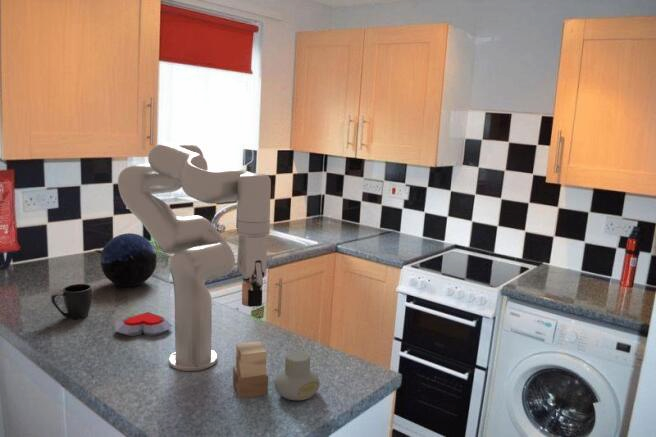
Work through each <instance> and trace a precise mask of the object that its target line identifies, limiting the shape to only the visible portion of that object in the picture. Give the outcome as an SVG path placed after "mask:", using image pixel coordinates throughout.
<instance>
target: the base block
mask: <svg viewBox="0 0 656 437" xmlns="http://www.w3.org/2000/svg"><path fill="white" fill-rule="evenodd" d="M232 386H233V388H234V390H235V392H236V395H237V397H238V399H239V398H240V399H245V398H253V397H259V396H265V395H268V394H269V392H268V391H269V375H268V373H267V372H266V375H260V376H253V377H246V378H241V376H240V374H239V372H238V370H237V368H236V365H235V366H234V365H233V367H232Z"/></svg>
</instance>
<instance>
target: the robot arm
mask: <svg viewBox="0 0 656 437" xmlns="http://www.w3.org/2000/svg"><path fill="white" fill-rule="evenodd" d="M147 161H148V163H141V164H133V165H130V166H127V167H125V168H124V169H122V171H120V173H119V176H118V178H117V187H118V188H117V189H118V192H119V195H120V198H121V200H122V202H123V204H124V205H125V207H126V208H127V209H128V210H129V211H130V213H132V214H133V216H135V217H136V218H137V219H138V220H139V222H141V224H142V225H143V227H144V228H145V229H146V231H147V232H148V233H149V235H150V236H151V237H152V239H153V240H154V242H155V243H156V245H157V246H158V247H159V248H160V250H161V251H163V253H165V254H168V255H173V256H172V257H171V258H170V263H169V269H170V274H171V278H172V283H173V285H172V286H173V291H174V292H173V295H174V345H175V346H174V349H175V350H174V352H173V353H171V354H170V356H169V358H168V363H169V365H170V366H171V367H172V368H174V369H175V370H178V371H183V372H193V371H194V372H195V371H196V372H197V371H202V370H205V369H209V368H210V367H212V366H214V365H215V364H216V363H217V361H218V354H217V352H216V351H215V350H213V349H212V343H213V342H212V337H213V336H212V333H213V332H212V330H213V329H212V327H213V326H212V324H213V323H212V320H213V319H212V317H213V314H212V306H213V303H212V295H211V292H210V291H209V289H208V288H207V286H206V285H205V282H207V281H211V280H213V279H218V278H220V277H224V276H227V275H228V274H230V273H231V272H233V270H234V268H235V265H236V267H237V270H238V271H239V273H240V274H241V276H242V282H243V281H246V280H249V286H250V290H248V306H247V307H250V308H251V307H261V306H263V290H262V283H263V282H264V278H265V277H266V276H267V275H266V274H267V236H269V235H270V233H271V232H270V230H271V229H270V228H271V226H270V225H271V224H270V223H271V193H272V191H271V186H272V185H271V184H272V182H271V177H270V176H269V175H268V174H265V173H264V174H263V173H259V172H258V173H257V172H256V173H255V172H251V171H249V170H246V169H238V168H237V169H221V170H220V169H219V170H208V168H209V167H208V162H207V160H206V158H205V157H204V154H203V152H202V150H201V148H199V146H198V145H196V144H194V143H191V142H164V143H160V144H157V145H155V146H153V148H151V150H150V151H149V152H148V157H147ZM180 189H182V190H183V192H184V194H185V195H187V196H188V197H190V198H192V199H195V200H197V201H199V202H201V203H204V204H208V205H209V204H210V205H212V204H214V205H215V204H221V203H229V202H237V203H236V206H237V207H236V208H237V209H236V234H237V235H238V244H237V261H236V259H235V255H234V252H233V250H232V248H231V246H230V245H229V244H228V242H227V241H226V239H225V238H224V237H223V236H222V235H221V234H220V232H219V231H218V230H217V228H216V227H215V226H214V225H213V223H212V221H210V220H209V219H207V218H206V217H204V216H201V215H188V216H178V215H177V214H176V213H175V212H174V211H173V210H172V208H171V207H170V205H168V204H167V202H165V201H163V200H162V199H160V198H158V197H156V196H154V195H157V194H167V193H169V194H170V193H174V192H176V191H178V190H180ZM236 263H237V264H236ZM253 280H256V281H254V283H253ZM263 284H264V283H263Z"/></svg>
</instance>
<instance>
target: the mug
mask: <svg viewBox="0 0 656 437" xmlns="http://www.w3.org/2000/svg"><path fill="white" fill-rule="evenodd" d="M92 287H93V286H91V285H90V284H86V283H76V284H70V285H67V286H64V287H63V289H62V291H63V292H62V293H55V294H52V295H51V298H50V299H51V300H50V301H51V303H52V305H53V306H54V307H55V308H56V309H57V311H58V312H59V313H60V314H61V315H62V316H63V317H64V318H65V319H66V318H67V319H71V320H83V319H85V318H87V317H88V316H89V314H90V309H91V305H92V301H93V300H92V297H93V296H92V295H93V290H92ZM57 296H58V297H59V296H61V297H62V296H63V303H64V307H65V310H66V312H64V311H63V310H62V309H61V308H60V307H59V306H58V305H57V302H56V300H55V298H56V297H57Z"/></svg>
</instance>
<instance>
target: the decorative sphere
mask: <svg viewBox="0 0 656 437" xmlns="http://www.w3.org/2000/svg"><path fill="white" fill-rule="evenodd" d="M99 262H100V267H101V271H102V273H103V275H104V276H105V277H106V279H108V280H109V281H110V282H112V283H113V284H115V285H118V286H119V287H120V286H121V287H124V288H125V287H135V286H139V285H141V284H143V283H145V282H146V281H148V280H149V279H150V278H151V276H153V273H154V272H155V270H156V267H157V262H158V256H157V251H156V249H155V247H154V245H153V244H152V242H151V241H149V239H147V238H146V237H144V236H143V235H140V234H137V233H130V232H129V233H122V234H119V235H116V236H114V237H113V238H111V239H110V240H109V241H108V242H107V243H106V244H105V245H104V247H103V249H102V251H101V254H100V259H99Z"/></svg>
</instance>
